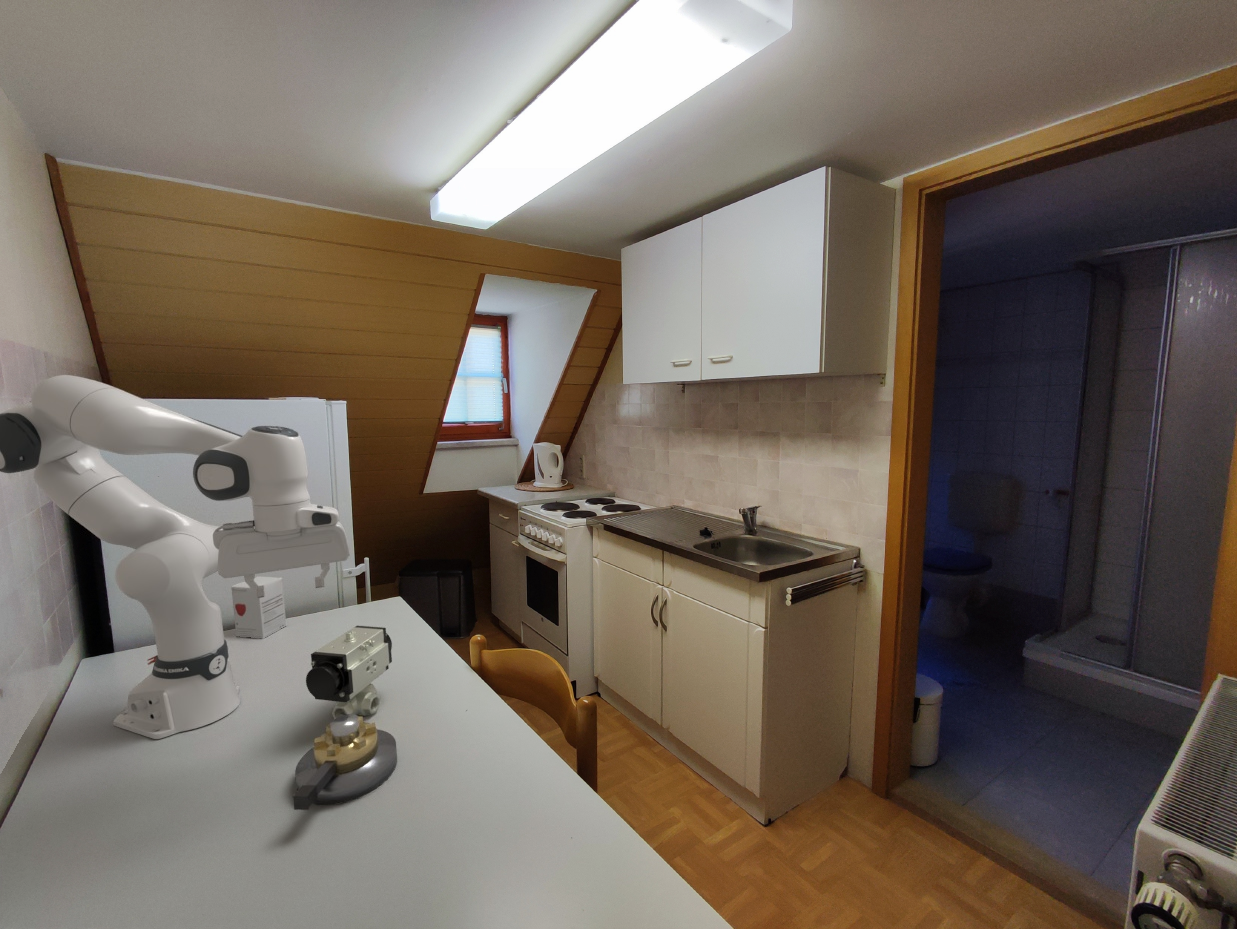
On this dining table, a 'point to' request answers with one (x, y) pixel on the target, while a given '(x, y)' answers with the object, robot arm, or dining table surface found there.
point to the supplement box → (259, 608)
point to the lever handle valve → (336, 761)
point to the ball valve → (351, 670)
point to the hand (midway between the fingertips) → (290, 591)
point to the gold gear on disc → (355, 780)
